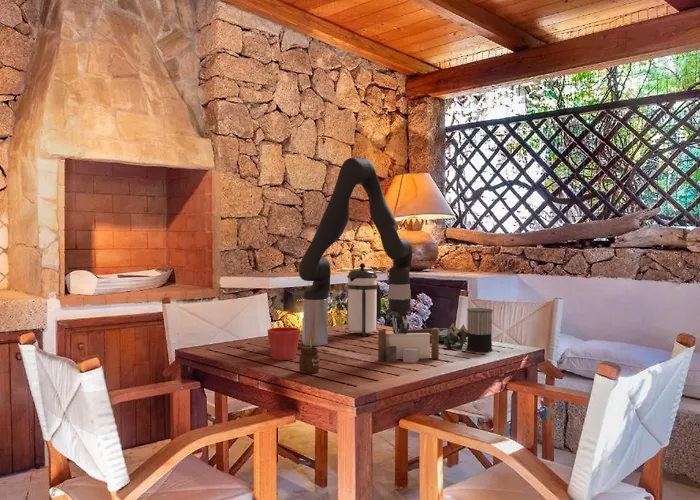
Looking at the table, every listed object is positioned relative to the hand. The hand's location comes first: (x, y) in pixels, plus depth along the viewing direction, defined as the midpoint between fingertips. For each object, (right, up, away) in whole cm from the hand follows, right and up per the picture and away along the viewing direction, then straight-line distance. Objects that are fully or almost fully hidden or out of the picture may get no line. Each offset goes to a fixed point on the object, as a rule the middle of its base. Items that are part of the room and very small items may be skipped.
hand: (400, 348), depth 207 cm
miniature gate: (+16, -3, +38) cm, 41 cm away
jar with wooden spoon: (-29, -3, -25) cm, 38 cm away
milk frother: (+26, -3, +14) cm, 30 cm away
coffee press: (-12, -2, +50) cm, 51 cm away
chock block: (+3, -3, -8) cm, 9 cm away
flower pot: (-39, -3, -3) cm, 40 cm away
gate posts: (+3, -3, -6) cm, 7 cm away
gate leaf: (+2, -3, -4) cm, 6 cm away
